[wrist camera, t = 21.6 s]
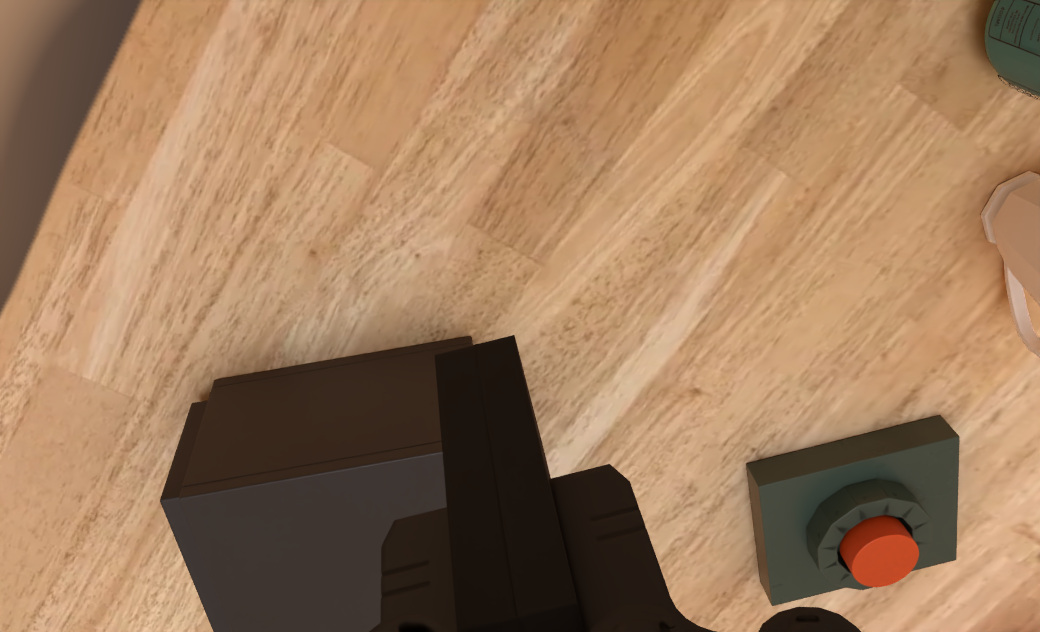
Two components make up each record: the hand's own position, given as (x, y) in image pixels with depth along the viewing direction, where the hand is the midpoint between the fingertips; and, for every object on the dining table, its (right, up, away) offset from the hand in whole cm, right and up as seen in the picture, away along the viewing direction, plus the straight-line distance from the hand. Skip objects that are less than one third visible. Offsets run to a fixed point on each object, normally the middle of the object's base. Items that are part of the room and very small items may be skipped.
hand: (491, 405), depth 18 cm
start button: (+21, -12, +38) cm, 45 cm away
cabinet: (-8, -5, +35) cm, 36 cm away
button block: (+21, -10, +41) cm, 47 cm away
